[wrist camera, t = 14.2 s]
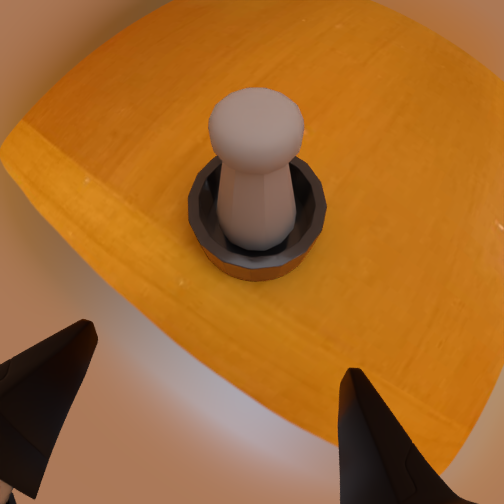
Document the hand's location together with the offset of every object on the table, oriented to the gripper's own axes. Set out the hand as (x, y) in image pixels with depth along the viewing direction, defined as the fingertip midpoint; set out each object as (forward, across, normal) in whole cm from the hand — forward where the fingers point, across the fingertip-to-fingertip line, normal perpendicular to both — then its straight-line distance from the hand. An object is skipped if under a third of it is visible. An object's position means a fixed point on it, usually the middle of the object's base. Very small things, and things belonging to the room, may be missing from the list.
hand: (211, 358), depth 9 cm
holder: (+16, 0, +2) cm, 16 cm away
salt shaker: (+16, 0, +2) cm, 16 cm away
